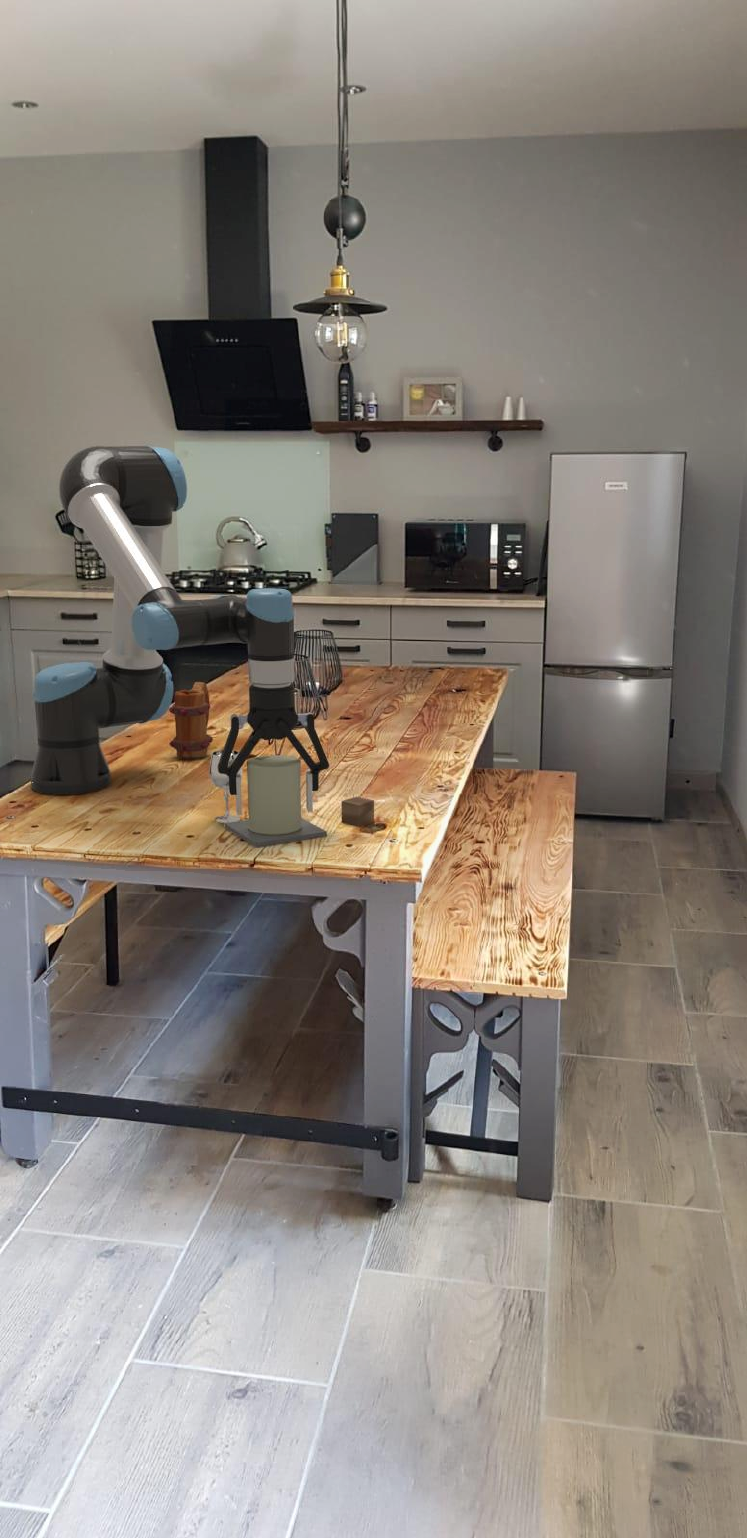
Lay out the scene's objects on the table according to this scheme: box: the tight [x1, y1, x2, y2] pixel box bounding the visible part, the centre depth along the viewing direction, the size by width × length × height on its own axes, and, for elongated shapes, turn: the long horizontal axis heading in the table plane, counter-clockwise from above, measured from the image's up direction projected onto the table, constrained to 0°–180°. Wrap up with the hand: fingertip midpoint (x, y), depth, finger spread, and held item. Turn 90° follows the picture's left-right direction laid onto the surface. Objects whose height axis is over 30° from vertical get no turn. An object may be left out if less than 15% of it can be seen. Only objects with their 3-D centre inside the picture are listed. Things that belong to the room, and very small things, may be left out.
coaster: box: [223, 817, 327, 849], centre depth 208 cm, size 13×13×1 cm
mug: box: [168, 681, 214, 760], centre depth 262 cm, size 15×8×15 cm, turn 168°
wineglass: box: [208, 749, 244, 824], centre depth 214 cm, size 6×6×12 cm
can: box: [245, 754, 302, 835], centre depth 206 cm, size 9×9×12 cm
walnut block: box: [341, 796, 375, 828], centre depth 213 cm, size 4×4×4 cm
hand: (274, 811), depth 207 cm, fingers open, 11 cm apart
